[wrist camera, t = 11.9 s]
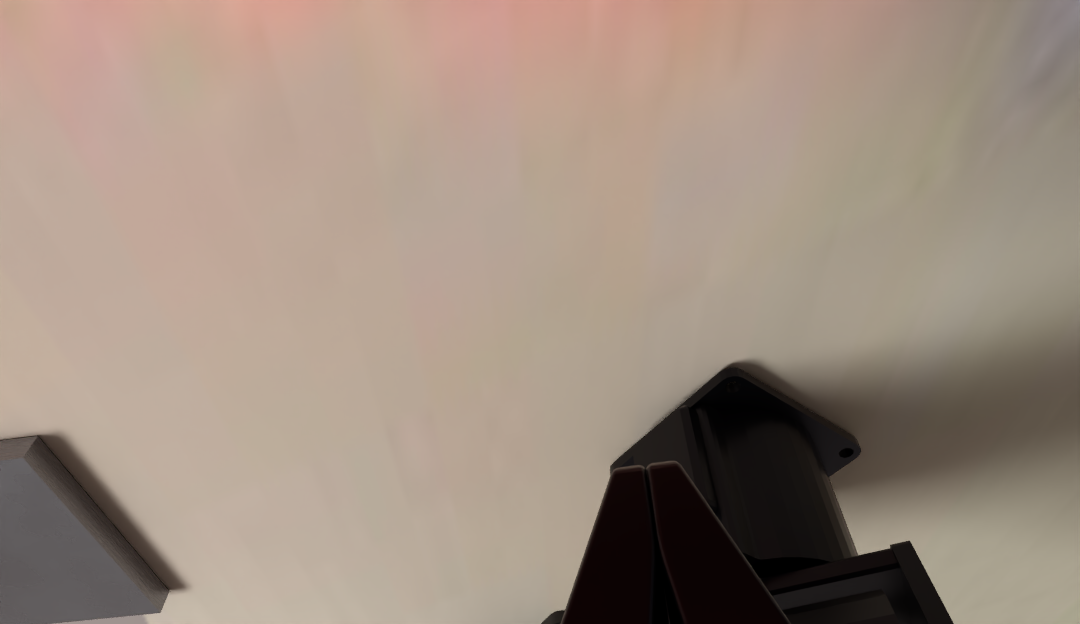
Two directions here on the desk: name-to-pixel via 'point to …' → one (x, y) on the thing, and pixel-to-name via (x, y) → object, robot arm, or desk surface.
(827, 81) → the desk surface
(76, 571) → the rack deck
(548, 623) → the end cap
